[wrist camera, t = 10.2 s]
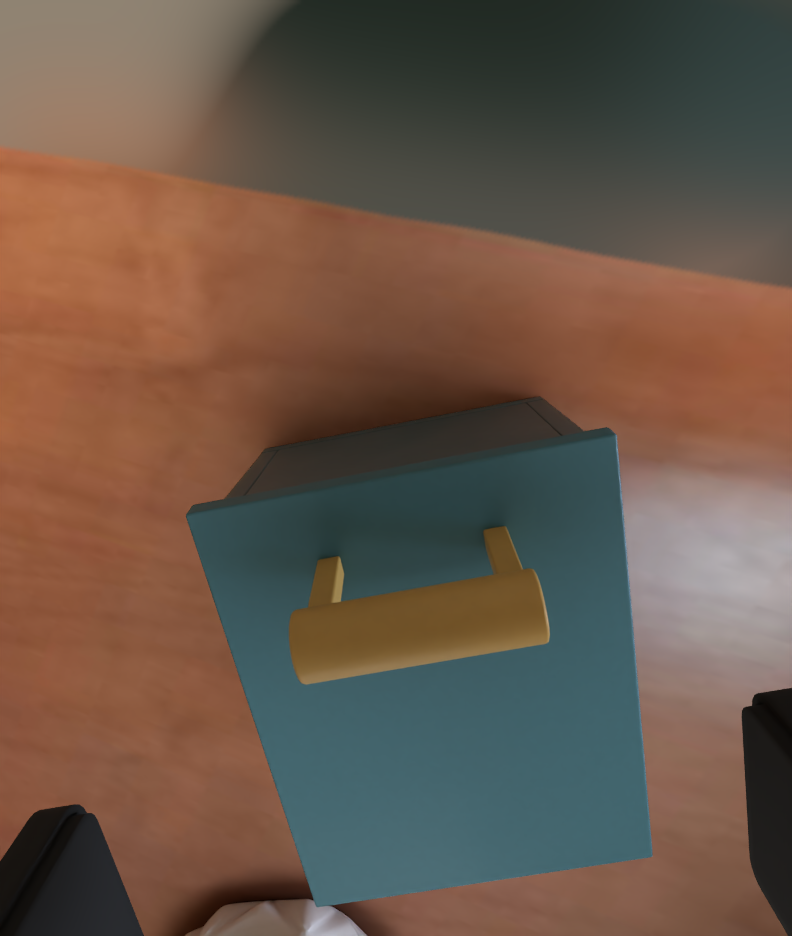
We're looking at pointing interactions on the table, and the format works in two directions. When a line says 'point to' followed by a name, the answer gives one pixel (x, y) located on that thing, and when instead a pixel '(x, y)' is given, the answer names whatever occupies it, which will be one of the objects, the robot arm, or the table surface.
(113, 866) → the robot arm
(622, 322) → the table surface
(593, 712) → the lid
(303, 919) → the vase
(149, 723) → the table surface
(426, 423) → the chest
